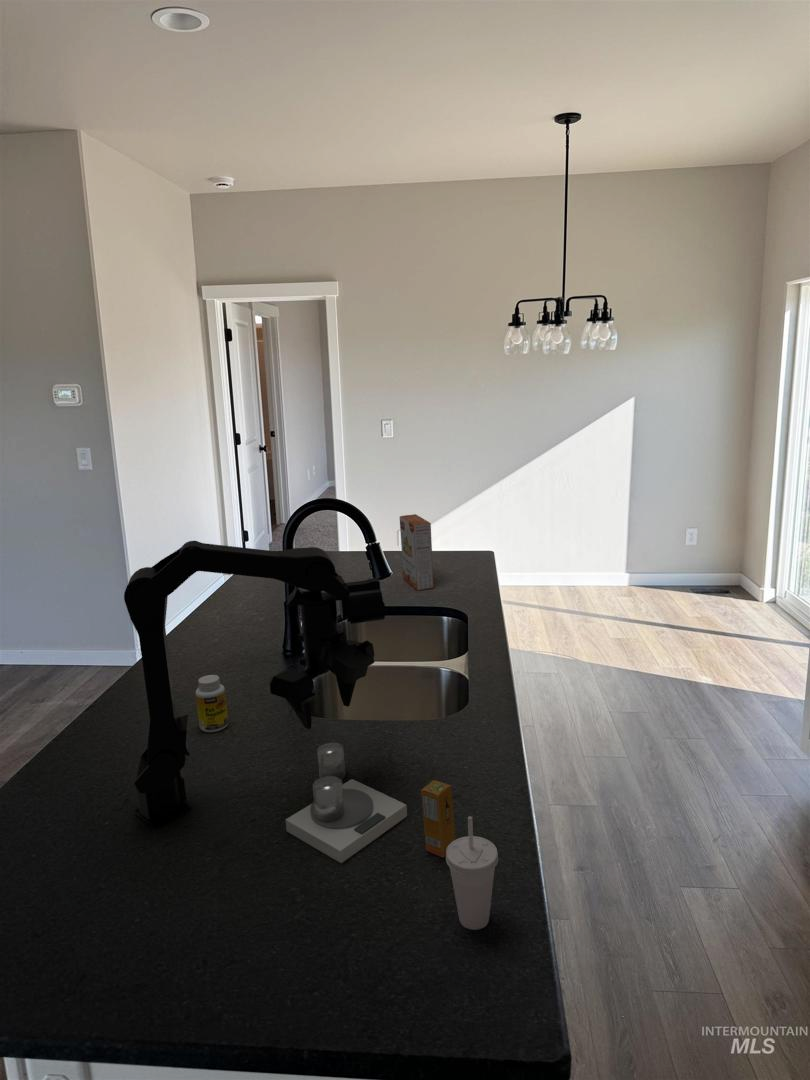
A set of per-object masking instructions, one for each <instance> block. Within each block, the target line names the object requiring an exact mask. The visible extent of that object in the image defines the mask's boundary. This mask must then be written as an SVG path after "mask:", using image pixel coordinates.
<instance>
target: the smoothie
mask: <svg viewBox="0 0 810 1080" xmlns="http://www.w3.org/2000/svg"><path fill="white" fill-rule="evenodd" d="M473 824H474V823H473V816H470V815H469V816H468V817H467V829H468V831H467V832H468V836H462V837H459V838H455V839H456V840H454V841H453V842H452V843H450V844H449V846H448V847H447V850H446V856H445V861H446V864H447V866H448V867H449V870H450V875H451V881H452V887H453V892H454V897H455V903H456V908H457V913H458V919H459V923H460V924H461V925H462V927H464V928H465V929H468V930H471V931H473V930H474V931H475V930H476V931H477V930H481V929H483V928H485V927H486V926H487V925H488V924H489V922H490V921H489V920H490V915H491V914H490V912H491V903H492V895H493V888H494V887H493V886H494V876H495V868H496V866H497V865H498V863H499V855H498V849H497V847H496V845H495V844H494V843H493V842H492V841H491V840H488V839H487V838H484V837H482V836H475V835H474V832H473V831H474V829H473V827H474V826H473Z"/></svg>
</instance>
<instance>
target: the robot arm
mask: <svg viewBox="0 0 810 1080" xmlns="http://www.w3.org/2000/svg"><path fill="white" fill-rule="evenodd" d="M197 572H204V573H214V574H222V575H223V574H225V575H234V576H245V577H254V578H261V579H262V578H264V579H273V580H277V581H279V582H283V583H285V584H286V585H290V586H292V587H294V589H293V591H292V592H291V593H290V594H288V596H287V597H286V600H287V604H288V606H290V607H296V606H299V609H300V620H301V630H302V632H301V633H298V634H297V635H296V636H297V641H298V642H302V643H303V654H304V656H302V657H300V658H299V665H300V666H304V667H305V668H306V669H304V670H303V671H297V670H294V669H291V668H288V669H285V670H283V671H281V672H279V673H277V674H275V675H273V676H272V677H271V678H270V680H269V689H270V690H269V691H270V694H271V695H275V696H277V697H281V698H284V699H285V700H286V702H287V703H289V705H290V707H291V708H292V710H293V711H294V713H295V714H296V715H297V718H298V719H299V721H300V722H301V725H303V727H304V728H305V729H308V730H311V728H312V721H313V720H312V708H311V707H312V706H311V705H312V704H311V701H312V700H313V698H314V697H316V693H313V691H314V689H315V686H314V685H315V684H314V683H315V682H314V681H316V680H317V679H319V678H321V677H323V676H325V675H327V674H328V673H332V674H334V675H335V678H336V683H337V686H338V687H337V688H338V691H339V694H340V699H341V701H342V706H344V707H347V708H348V707H350V706H351V705H350V704H351V702H352V699H353V694H354V691H355V688H356V683H357V680H360V679H361V678H365V677H366V676H367V673H368V669H369V667H370V666H371V665H373V664H374V663H375V649H374V644H373V643H372V642H371V641H369V640H364V641H363V642H362V641H361V642H360V641H357V640H356V641H355V640H353V639H346V634H345V631H343V630H339V622H338V610H337V601H338V606H339V614H340V618H341V619H342V620H344V619H346V621H347V623H348V624H349V625H354V624H362V623H370V622H376V621H383V620H385V618H386V604H385V602H384V599H383V594H382V590H381V581H380V580H379V579H378V578H377V577H373V578H367V579H366V580H365V579H364V580H358V581H350V582H349V581H348V582H345V580H344V578H343V577H342V575H339V574H338V572H336V568H335V565H334V563H333V561H332V559H331V558H330V556H329V555H328V553H327V551H325V550H324V549H322V548H320V547H318V546H317V547H316V546H312V547H310V546H309V547H293V548H289V549H288V548H287V549H284V550H267V549H259V548H258V549H257V548H250V547H242V546H241V547H240V546H232V545H231V546H230V545H224V544H223V545H221V544H214V543H205V542H200V541H198V540H189V541H187V542H184V544H183V545H182V546H180V547H179V548H178V549H176V550H175V551H174V552H172V553H170V554H169V555H167V556H165V557H164V558H162V559H161V560H159V561H158V562H157V563H155V564H154V565H152V566H146V567H143V568H139V569H137V570H136V571H134V573H133V574H132V575H131V576H130V578H129V581H128V583H127V586H126V587H125V590H124V593H123V601H124V604H125V606H126V608H127V609H126V610H127V612H128V615H129V618H130V619H129V620H130V621H131V623H132V625H133V627H134V629H135V630H136V634H137V635H138V641H139V648H140V655H141V661H142V662H141V663H142V671H143V675H144V676H143V677H144V684H145V692H146V700H147V705H148V706H147V707H148V714H149V727H148V736H147V737H148V738H147V747H146V748H145V750H144V751H143V752H142V753H141V754H140V756H139V760H138V763H137V765H138V766H137V769H136V775H135V777H134V778H135V779H134V783H133V784H134V786H135V791H136V797H137V805H138V808H136V809H135V810H134V814H135V815H136V816H137V817H139V818H140V819H142V820H143V821H144V822H146V823H147V824H148V825H150V826H152V827H153V828H158V827H161V826H162V825H164V824H166V823H168V822H169V821H171V820H173V819H175V818H177V817H179V816H180V815H182V814H184V813H186V812H188V811H190V810H191V805H190V804H189V803H187V799H188V798H187V791H186V783H185V778H184V777H182V774H181V773H182V772H181V770H182V769H183V768H184V767H185V765H186V756H187V757H188V756H190V755H191V745H192V743H191V742H192V734H191V732H190V730H189V714H185V715H182V716H180V714H179V712H178V710H177V708H176V703H175V695H174V687H173V685H174V684H173V678H172V670H171V669H172V668H171V661H170V653H169V647H168V639H167V638H168V637H167V631H166V630H167V629H166V618H167V611H168V609H167V607H168V596H170V595H171V594H172V593H174V592H175V591H176V590H178V588H179V587H180V586H182V585H183V584H184V583H185V582H186V581H187V580H188V579H190V577H191V576H193V575H194V574H195V573H197ZM302 589H303V590H302ZM322 591H323V592H322Z"/></svg>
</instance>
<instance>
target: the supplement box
mask: <svg viewBox="0 0 810 1080" xmlns="http://www.w3.org/2000/svg"><path fill="white" fill-rule="evenodd" d="M420 792H421V793H420V794H421V806H422V816H423V817H422V818H423V828H424V829H423V831H424V839H425V849H426V850H425V851H426V852H428V853H431V854H433V855H435V856H437V857H439V858H442V859H444V858H446V850H447V847H448V846H449V844H450V843H452V842H453V841H454V840H456V839H457V838H456V829H455V828H456V827H455V826H456V825H455V816H454V800H453V789H452V785H451V784H447V783H444V782H441V781H439V780H435V779H434V780H432V781H431V782H429V783H428V784H427V785H425V786H424V787H423V788H422V789H420Z"/></svg>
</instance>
